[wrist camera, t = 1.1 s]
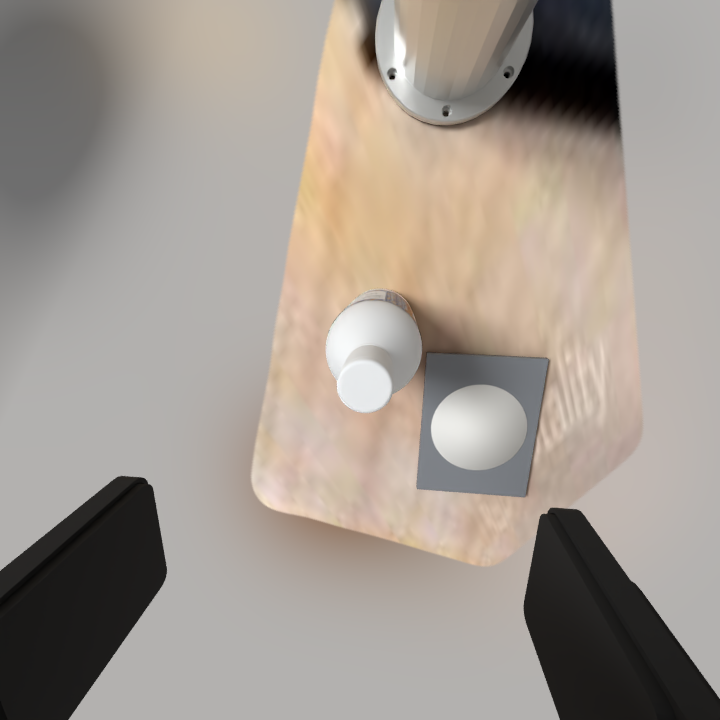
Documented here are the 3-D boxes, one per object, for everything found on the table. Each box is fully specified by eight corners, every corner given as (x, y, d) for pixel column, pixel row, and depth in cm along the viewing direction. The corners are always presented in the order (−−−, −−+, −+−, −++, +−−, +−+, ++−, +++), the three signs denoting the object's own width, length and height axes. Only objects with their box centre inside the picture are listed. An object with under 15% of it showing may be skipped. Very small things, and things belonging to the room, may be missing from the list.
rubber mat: (426, 352, 38) (427, 354, 37) (546, 357, 37) (549, 359, 36) (416, 485, 42) (416, 489, 42) (523, 494, 41) (525, 497, 41)
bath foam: (411, 356, 38) (428, 454, 19) (345, 352, 39) (297, 444, 20) (416, 289, 36) (441, 323, 17) (347, 286, 37) (296, 316, 18)
